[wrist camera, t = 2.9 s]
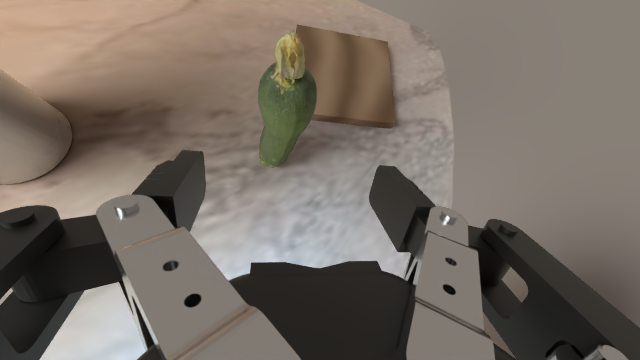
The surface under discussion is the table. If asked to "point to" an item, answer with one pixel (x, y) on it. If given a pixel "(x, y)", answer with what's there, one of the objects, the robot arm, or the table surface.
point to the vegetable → (285, 100)
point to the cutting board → (349, 77)
